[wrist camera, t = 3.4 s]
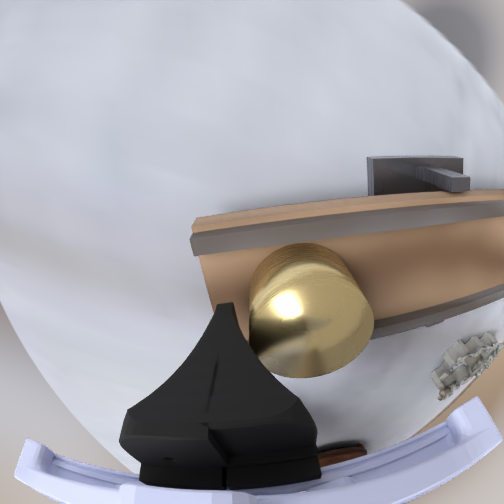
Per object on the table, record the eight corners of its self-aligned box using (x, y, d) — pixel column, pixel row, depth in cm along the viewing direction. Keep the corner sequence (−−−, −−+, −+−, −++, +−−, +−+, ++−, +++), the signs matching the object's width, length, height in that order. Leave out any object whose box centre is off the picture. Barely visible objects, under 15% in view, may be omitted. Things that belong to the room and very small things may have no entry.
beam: (530, 271, 14) (542, 281, 13) (227, 341, 16) (225, 363, 14) (547, 189, 11) (561, 197, 9) (196, 217, 13) (187, 232, 11)
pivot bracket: (440, 285, 19) (469, 314, 15) (363, 306, 19) (386, 345, 15) (456, 156, 14) (498, 169, 10) (366, 157, 14) (407, 169, 10)
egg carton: (422, 380, 26) (435, 404, 22) (451, 336, 23) (469, 359, 19) (468, 367, 27) (481, 385, 23) (494, 327, 24) (510, 345, 20)
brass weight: (347, 319, 14) (366, 366, 11) (257, 333, 14) (258, 384, 11) (349, 235, 12) (379, 274, 9) (241, 251, 12) (237, 296, 9)
